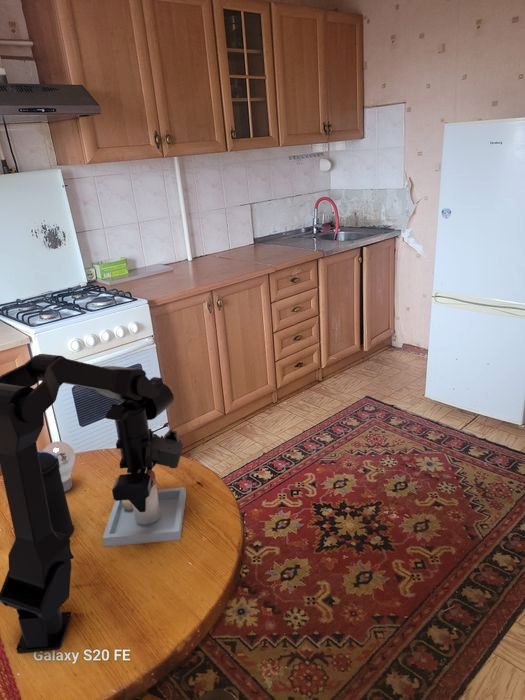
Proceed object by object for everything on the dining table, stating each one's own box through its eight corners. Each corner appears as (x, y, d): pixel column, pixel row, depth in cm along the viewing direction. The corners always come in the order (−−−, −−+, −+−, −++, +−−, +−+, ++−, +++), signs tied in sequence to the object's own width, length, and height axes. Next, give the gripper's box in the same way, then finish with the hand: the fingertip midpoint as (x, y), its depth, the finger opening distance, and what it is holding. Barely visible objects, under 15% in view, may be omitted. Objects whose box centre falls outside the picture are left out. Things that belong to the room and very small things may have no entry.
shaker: (159, 523, 103) (153, 483, 100) (132, 525, 103) (125, 485, 100) (162, 506, 108) (156, 468, 105) (136, 509, 108) (130, 470, 104)
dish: (180, 542, 99) (178, 531, 98) (104, 549, 99) (102, 538, 98) (186, 497, 112) (185, 487, 112) (119, 503, 112) (117, 492, 111)
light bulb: (66, 479, 122) (55, 433, 118) (88, 486, 119) (78, 438, 114) (41, 496, 116) (29, 448, 112) (64, 504, 113) (53, 454, 109)
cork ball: (137, 512, 108) (135, 499, 107) (121, 513, 108) (119, 500, 106) (140, 502, 111) (137, 489, 110) (124, 504, 111) (122, 491, 109)
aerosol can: (59, 553, 99) (35, 458, 92) (21, 548, 101) (-6, 456, 94) (83, 524, 106) (62, 435, 99) (47, 520, 108) (24, 433, 101)
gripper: (171, 454, 90) (182, 530, 96) (181, 405, 108) (190, 472, 113) (105, 459, 90) (119, 535, 95) (125, 410, 107) (137, 477, 113)
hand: (144, 502), depth 104 cm, fingers open, 5 cm apart
